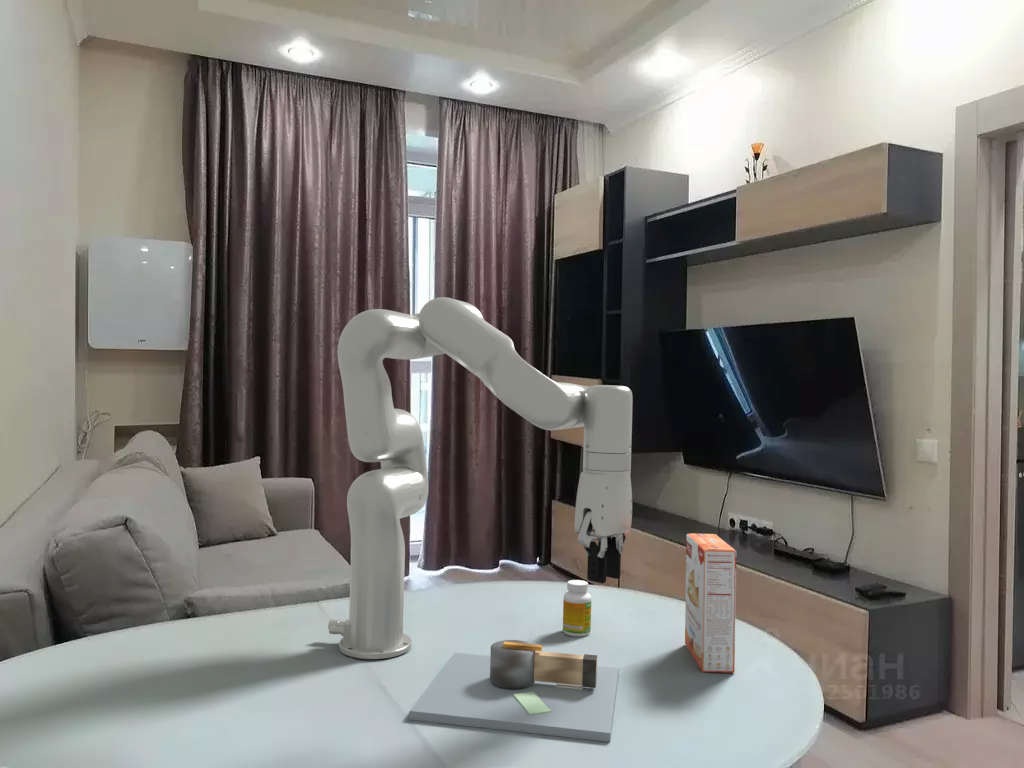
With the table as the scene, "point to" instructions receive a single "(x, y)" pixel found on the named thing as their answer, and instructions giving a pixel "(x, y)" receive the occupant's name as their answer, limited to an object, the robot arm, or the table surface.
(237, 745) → the table surface
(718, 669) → the cracker box
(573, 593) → the supplement bottle
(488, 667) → the board
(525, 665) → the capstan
